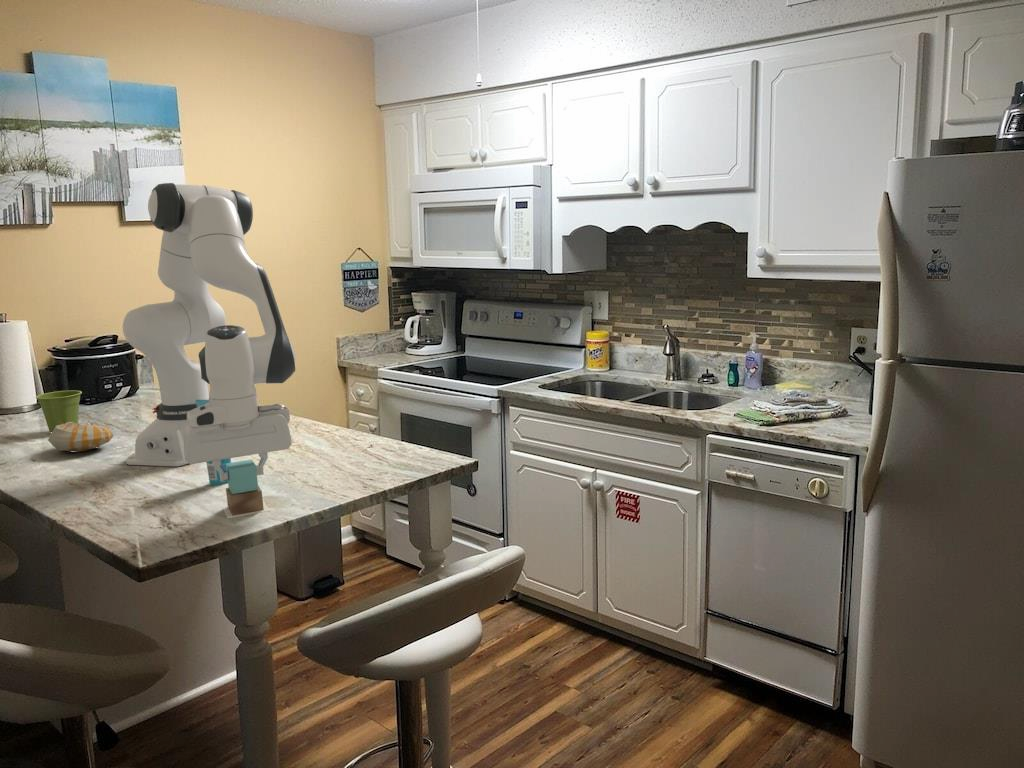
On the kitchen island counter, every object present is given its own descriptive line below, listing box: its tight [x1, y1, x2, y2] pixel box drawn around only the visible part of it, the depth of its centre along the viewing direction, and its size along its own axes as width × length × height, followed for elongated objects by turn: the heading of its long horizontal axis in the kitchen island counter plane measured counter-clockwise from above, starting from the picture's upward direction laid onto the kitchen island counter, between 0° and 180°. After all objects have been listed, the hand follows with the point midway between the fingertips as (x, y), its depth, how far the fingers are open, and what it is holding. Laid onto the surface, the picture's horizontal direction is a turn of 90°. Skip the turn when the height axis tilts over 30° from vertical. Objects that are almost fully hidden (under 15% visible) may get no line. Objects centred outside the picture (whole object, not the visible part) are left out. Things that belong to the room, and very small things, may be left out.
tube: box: [196, 400, 232, 487], centre depth 185 cm, size 7×5×19 cm, turn 88°
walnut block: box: [225, 485, 264, 516], centre depth 167 cm, size 6×6×4 cm
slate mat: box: [221, 500, 271, 519], centre depth 167 cm, size 14×12×1 cm
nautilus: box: [47, 422, 114, 452], centre depth 223 cm, size 8×22×15 cm
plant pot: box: [35, 389, 83, 433], centre depth 242 cm, size 12×12×11 cm
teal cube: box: [226, 459, 259, 494], centre depth 166 cm, size 5×5×5 cm
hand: (242, 477), depth 166 cm, fingers open, 5 cm apart
